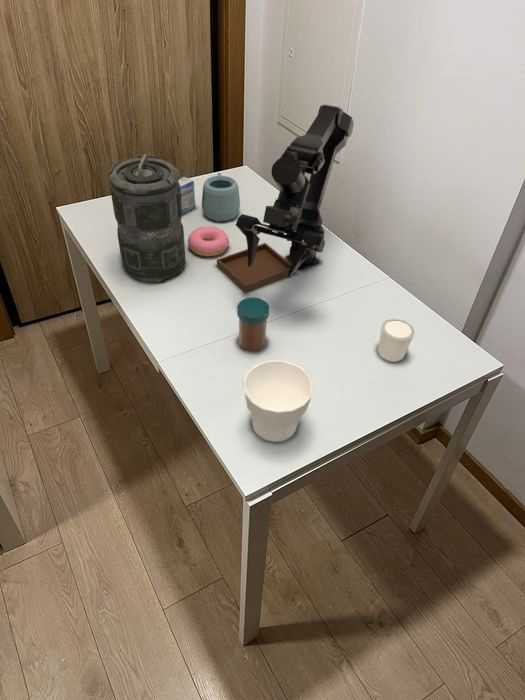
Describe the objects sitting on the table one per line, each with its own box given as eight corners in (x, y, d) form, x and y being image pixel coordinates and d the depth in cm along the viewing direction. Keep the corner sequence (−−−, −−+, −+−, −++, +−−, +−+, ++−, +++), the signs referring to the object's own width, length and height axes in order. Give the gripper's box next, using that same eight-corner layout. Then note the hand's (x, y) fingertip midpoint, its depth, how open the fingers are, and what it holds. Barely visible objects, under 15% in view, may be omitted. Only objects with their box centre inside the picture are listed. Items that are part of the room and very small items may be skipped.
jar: (255, 330, 120) (257, 296, 113) (270, 345, 117) (272, 311, 110) (233, 339, 117) (234, 305, 111) (248, 355, 114) (249, 321, 107)
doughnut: (219, 233, 148) (219, 219, 145) (235, 254, 141) (235, 240, 138) (182, 241, 145) (181, 227, 142) (196, 262, 138) (196, 249, 135)
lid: (231, 318, 110) (231, 311, 109) (245, 300, 115) (245, 293, 113) (260, 328, 108) (261, 321, 107) (274, 309, 113) (274, 303, 112)
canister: (128, 247, 141) (112, 143, 122) (188, 249, 142) (182, 145, 123) (117, 283, 130) (98, 174, 111) (182, 285, 131) (174, 177, 111)
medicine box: (176, 218, 153) (174, 190, 147) (165, 212, 155) (163, 184, 149) (195, 208, 158) (194, 180, 152) (185, 202, 160) (183, 175, 154)
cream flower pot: (243, 397, 106) (244, 357, 98) (306, 400, 106) (312, 361, 98) (239, 449, 97) (240, 410, 89) (308, 452, 97) (315, 414, 89)
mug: (201, 198, 162) (200, 166, 155) (237, 197, 163) (237, 166, 156) (202, 224, 151) (201, 191, 144) (241, 223, 153) (241, 191, 146)
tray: (265, 249, 144) (265, 242, 142) (294, 273, 136) (295, 267, 135) (216, 266, 137) (216, 259, 136) (245, 293, 130) (245, 286, 128)
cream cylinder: (400, 368, 113) (407, 344, 108) (370, 355, 116) (376, 331, 111) (411, 349, 118) (419, 326, 113) (382, 337, 120) (389, 314, 115)
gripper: (239, 178, 107) (217, 252, 108) (328, 198, 103) (304, 276, 103) (253, 196, 118) (232, 264, 118) (334, 216, 114) (312, 286, 114)
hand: (268, 272), depth 113 cm, fingers open, 9 cm apart
